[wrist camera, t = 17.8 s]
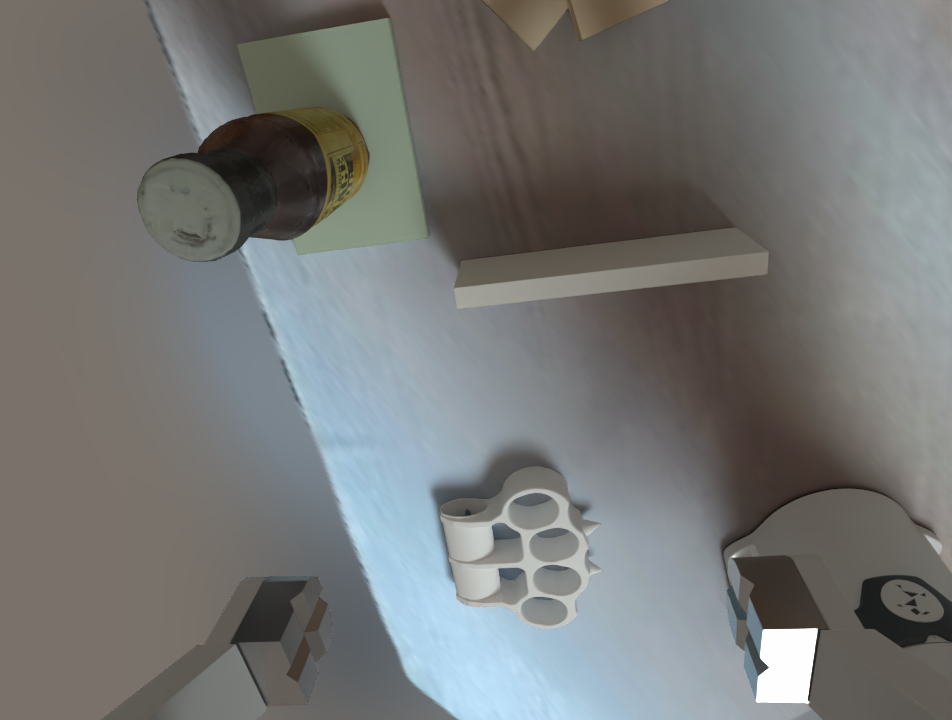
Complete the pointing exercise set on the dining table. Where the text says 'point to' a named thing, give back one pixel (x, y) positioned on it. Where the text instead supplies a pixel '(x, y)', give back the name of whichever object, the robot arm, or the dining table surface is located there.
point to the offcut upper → (604, 13)
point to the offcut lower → (529, 17)
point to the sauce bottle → (254, 182)
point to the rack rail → (609, 267)
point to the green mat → (364, 102)
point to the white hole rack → (521, 549)
